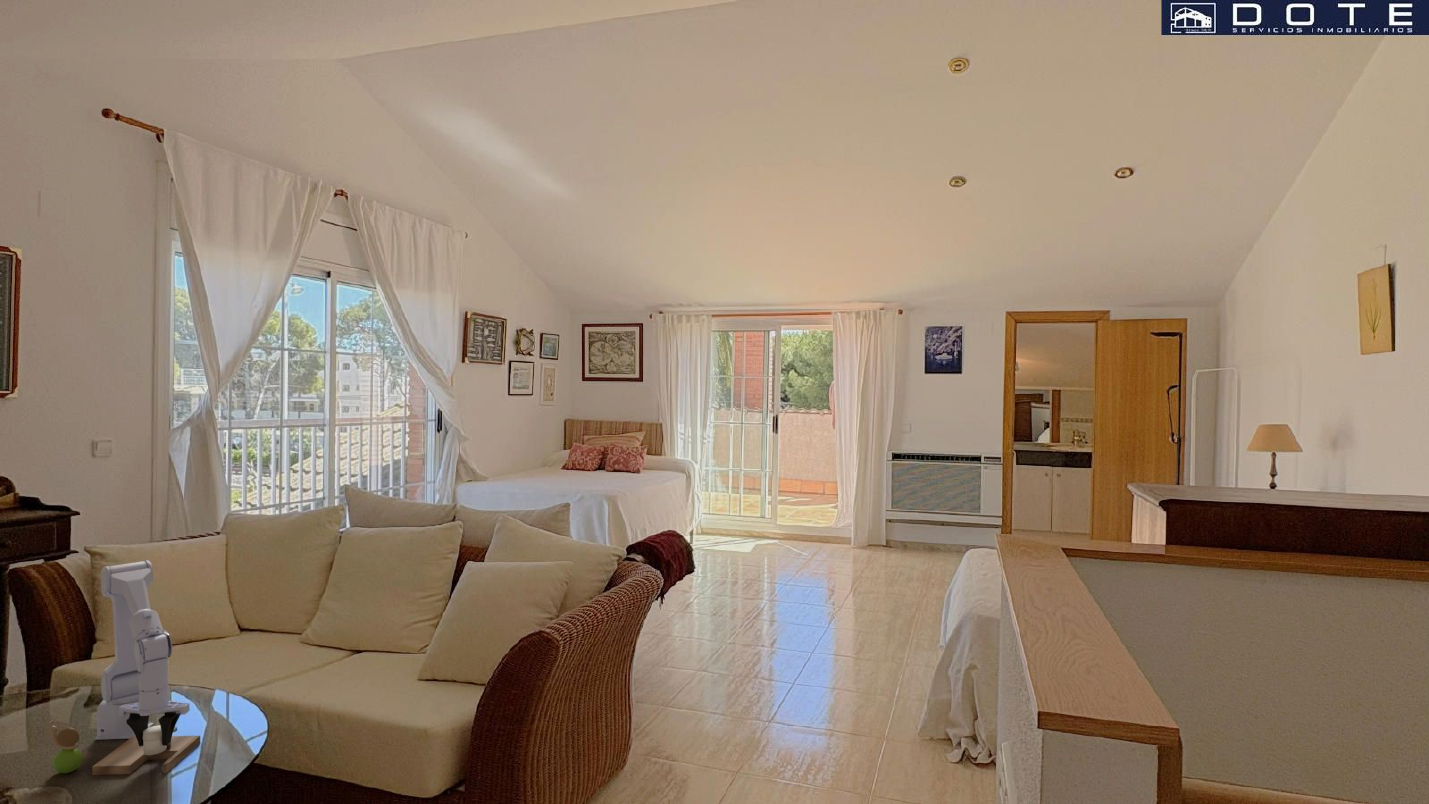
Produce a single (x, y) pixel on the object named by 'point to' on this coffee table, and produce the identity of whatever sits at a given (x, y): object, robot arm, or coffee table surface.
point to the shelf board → (144, 756)
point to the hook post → (170, 742)
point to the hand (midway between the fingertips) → (155, 743)
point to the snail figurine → (66, 749)
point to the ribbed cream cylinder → (153, 741)
